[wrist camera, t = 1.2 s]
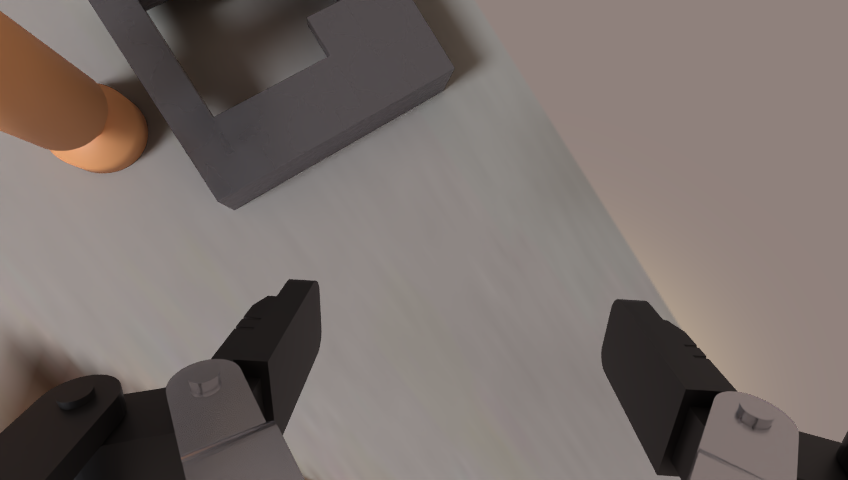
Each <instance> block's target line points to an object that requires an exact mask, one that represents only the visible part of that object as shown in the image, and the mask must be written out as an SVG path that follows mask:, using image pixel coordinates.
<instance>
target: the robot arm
mask: <svg viewBox="0 0 848 480" xmlns="http://www.w3.org/2000/svg"><path fill="white" fill-rule="evenodd" d="M320 342H321V312H320V293H319V284H318V282H317V281H310V280H293V279H289V280H288V281H287V283H286V284H285V285H284V287H283V288H282V290H281V291H280V292H279V294H278V295H277V296H267V297H265V298H264V299H262V300H260V301H259V302H257V303H256V304H254V305H252V307H251V308H250V309H249V311H248V312H247V313H246V314H245V316H244V319H242V320H241V321H240V322H239V324H238V325H237V326H236V329H234V330H233V331H232V333H231V334H230V335H229V336H228V338H227V339H226V340H225V342H224V343H223V344H222V345H221V347H220V348H219V349H218V351H217V352H216V353H215V354H214V356H213V357H212V358H211V359H210V360H204V361H200V362H197V363H194V364H191V365H189V366H187V367H185V368H183V369H182V370H180V371H179V372H177V373H176V374H175V375H174V376H173V377H172V378H171V379H170V380H169V382H168V384H167V386H166V388H161V389H155V390H148V391H142V392H136V393H129V394H123V391H122V387H121V383H120V382H119V380H118V379H116V378H115V377H112V376H109V375H90V376H84V377H80V378H76V379H73V380H70V381H68V382H65V383H63V384H61V385H58V386H56V387H55V388H53V389H51V390H50V391H48V392H47V393H45V394H44V395H43V396H41V397H40V398H39V399H38V400H37V401H36V402H34V403H33V404H32V405H31V406H30V407H29V408H28V409H27V410H26V411H25V412H23V413H22V414H21V415H20V416H19V417H18V418H17V419H16V420H15V421H14V422H12V423H11V424H10V425H9V426H8V427H7V428H6V429H5V430H4V431H3V432H1V433H0V480H305V479H304V477H303V475H302V473H301V471H300V469H299V467H298V465H297V463H296V461H295V459H294V457H293V455H292V453H291V451H290V449H289V447H288V445H287V443H286V441H285V439H284V437H283V433H284V431H285V429H286V426H287V424H288V422H289V419H290V417H291V415H292V412H293V410H294V408H295V405H296V403H297V401H298V398H299V396H300V394H301V391H302V389H303V387H304V384H305V382H306V380H307V377H308V375H309V373H310V370H311V368H312V366H313V363H314V361H315V359H316V356H317V354H318V351H319V347H320ZM601 359H602V366H603V369H604V372H605V374H606V376H607V378H608V380H609V382H610V384H611V386H612V388H613V390H614V392H615V394H616V396H617V397H618V399H619V401H620V403H621V405H622V407H623V409H624V411H625V413H626V415H627V417H628V419H629V421H630V423H631V425H632V427H633V429H634V431H635V433H636V435H637V437H638V439H639V440H640V442H641V444H642V446H643V448H644V450H645V452H646V454H647V456H648V458H649V460H650V462H651V464H652V466H653V468H654V470H655V472H656V474H657V475H665V476H680V478H681V480H848V432H847V434H846V436H845V437H844V439H843V441H842V443H840V442H836V441H832V440H829V439H825V438H821V437H818V436H814V435H810V434H807V433H803V432H799V431H798V428H797V426H796V424H795V423H794V421H793V420H792V419H791V418H790V417H789V416H788V415H787V414H786V413H784V412H783V411H782V410H780V409H779V408H778V407H776V406H774V405H772V404H771V403H769V402H767V401H765V400H763V399H761V398H758V397H755V396H753V395H750V394H746V393H742V392H737V391H736V389H735V388H734V387H733V386H732V385H731V384H730V383H729V382H728V380H727V379H726V378H725V377H724V376H723V375H722V374H721V373H720V371H719V370H718V369H717V368H716V367H715V366H714V365H713V363H712V362H711V361H710V360H709V359H706V356H705V354H704V353H703V352H702V351H701V350H700V349H699V348H697V346H696V344H695V343H694V342H693V341H692V340H691V338H690V337H689V336H688V335H687V334H686V333H685V332H684V331H683V330H681V329H679V328H678V327H676V326H675V325H673V324H672V323H670V322H669V321H667V320H663V319H662V318H661V317H660V316H659V314H658V313H657V312H656V311H655V310H654V309H653V307H652V306H651V305H650V304H649V303H648V302H647V301H639V300H622V299H617V300H615V301H614V303H613V305H612V308H611V312H610V316H609V320H608V324H607V329H606V333H605V337H604V341H603V346H602V352H601Z"/></svg>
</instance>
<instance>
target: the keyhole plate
mask: <svg viewBox="0 0 848 480" xmlns="http://www.w3.org/2000/svg"><path fill="white" fill-rule="evenodd" d="M166 1H168V0H89V2H90V4H91V5H92V7H93V8H94V10H95V11H96V13H97V14H98V16H99V18H100V19H101V21H102V22H103V24H104V25H105V27H106V28H107V30H108V32H109V33H110V35H111V36H112V38H113V39H114V41H115V42H116V44H117V46H118V47H119V49H120V50H121V52H122V53H123V55H124V56H125V58H126V60H127V61H128V63H129V64H130V66H131V67H132V69H133V70H134V72H135V74H136V75H137V77H138V78H139V80H140V81H141V83H142V84H143V86H144V88H145V89H146V91H147V92H148V94H149V95H150V97H151V98H152V100H153V102H154V103H155V105H156V106H157V108H158V109H159V111H160V112H161V114H162V116H163V117H164V119H165V120H166V122H167V123H168V125H169V126H170V128H171V129H172V131H173V133H174V134H175V136H176V137H177V139H178V140H179V142H180V143H181V145H182V147H183V148H184V150H185V151H186V153H187V154H188V156H189V157H190V159H191V161H192V162H193V164H194V165H195V167H196V168H197V170H198V171H199V173H200V175H201V176H202V178H203V179H204V181H205V182H206V184H207V185H208V187H209V189H210V190H211V192H212V193H213V195H214V196H215V198H216V199H217V201H218V202H220V203H222V204H223V205H225V206H227V207H229V208H231V209H233V210H235V209H237V208H239V207H241V206H242V205H244V204H246V203H248V202H249V201H251V200H253V199H255V198H256V197H258V196H260V195H262V194H263V193H265V192H267V191H269V190H270V189H272V188H274V187H276V186H277V185H279V184H281V183H283V182H284V181H286V180H288V179H290V178H291V177H293V176H295V175H297V174H298V173H300V172H302V171H304V170H305V169H307V168H309V167H311V166H312V165H314V164H316V163H318V162H319V161H321V160H323V159H325V158H326V157H328V156H330V155H332V154H333V153H335V152H337V151H339V150H340V149H342V148H344V147H346V146H347V145H349V144H351V143H353V142H354V141H356V140H358V139H360V138H361V137H363V136H365V135H367V134H368V133H370V132H372V131H374V130H375V129H377V128H379V127H381V126H382V125H384V124H386V123H388V122H389V121H391V120H393V119H395V118H396V117H398V116H400V115H402V114H403V113H405V112H407V111H409V110H410V109H412V108H414V107H416V106H417V105H419V104H421V103H423V102H424V101H426V100H428V99H430V98H431V97H433V96H435V95H437V94H438V93H440V92H442V91H443V90H444V88H445V86H446V84H447V82H448V80H449V78H450V76H451V74H452V73H453V71H454V69H455V68H454V66H453V64H452V63H451V61H450V59H449V58H448V56H447V55H446V53H445V51H444V50H443V48H442V46H441V45H440V43H439V42H438V40H437V38H436V37H435V35H434V34H433V32H432V30H431V29H430V27H429V25H428V24H427V22H426V21H425V19H424V17H423V16H422V14H421V13H420V11H419V9H418V8H417V6H416V4H415V3H414V1H413V0H337V1H338V2H336V3H334V4H333V5H331V6H329V7H327V8H325V9H323V10H321V11H319V12H317V13H315V14H313V15H311V16H309V17H307V21H308V27H309V28H310V30H311V32H312V33H313V35H314V36H315V38H316V40H317V41H318V43H319V44H320V46H321V48H322V49H323V51H324V52H325V54H326V55H327V58H325V59H323V60H321V61H319V62H317V63H315V64H314V65H312V66H310V67H308V68H306V69H304V70H302V71H300V72H298V73H296V74H295V75H293V76H291V77H289V78H287V79H285V80H283V81H281V82H279V83H277V84H276V85H274V86H272V87H270V88H268V89H266V90H264V91H262V92H260V93H259V94H257V95H255V96H253V97H251V98H249V99H247V100H245V101H243V102H241V103H240V104H238V105H236V106H234V107H232V108H230V109H228V110H226V111H224V112H222V113H221V114H219V115H217V116H215V117H214V116H213V115H212V113H211V112H210V110H209V109H208V107H207V105H206V104H205V102H204V101H203V99H202V98H201V96H200V95H199V93H198V91H197V90H196V88H195V87H194V85H193V84H192V82H191V80H190V79H189V77H188V76H187V74H186V73H185V71H184V69H183V68H182V66H181V65H180V63H179V62H178V60H177V59H176V57H175V55H174V54H173V52H172V51H171V49H170V48H169V46H168V44H167V43H166V41H165V40H164V38H163V37H162V35H161V33H160V32H159V30H158V29H157V27H156V26H155V24H154V23H153V21H152V19H151V18H150V16H149V15H148V13H147V12H146V11H147V10H149V9H151V8H153V7H155V6H157V5H160V4H162V3H164V2H166Z"/></svg>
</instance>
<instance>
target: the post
mask: <svg viewBox="0 0 848 480" xmlns="http://www.w3.org/2000/svg"><path fill="white" fill-rule="evenodd" d="M0 131H3V132H5V133H8V134H10V135H13V136H15V137H18V138H20V139H23V140H25V141H28V142H30V143H33V144H35V145H38V146H40V147H43V148H45V149H49V150H50V151H51V152H52V153H53V154H54V155H55V156H56V157H58V158H59V159H61V160H62V161H64V162H66V163H68V164H71V165H74V166H76V167H79V168H82V169H84V170H87V171H90V172H95V173H112V172H116V171H119V170H122V169H124V168H126V167H128V166H130V165H131V164H133V163H134V162H135V161H136V160H137V159H138V158H139V157H140V156H141V154H142V153H143V151H144V149H145V147H146V144H147V139H148V127H147V123H146V120H145V118H144V116H143V114H142V112H141V111H140V110H139V108H138V107H137V106H136V105H135V104H133V103H132V102H131V101H130V100H128V99H127V98H126V97H124V96H123V95H122V94H120V93H119V92H118V91H116V90H114V89H113V88H111V87H108V86H106V85H102V84H98V83H96V82H95V81H94V80H93V79H91V78H90V77H89V76H87V75H86V74H85V73H83V72H82V71H81V70H79V69H78V68H77V67H75V66H74V65H73V64H71V63H70V62H69V61H67V60H66V59H64V58H63V57H62V56H60V55H59V54H58V53H56V52H55V51H54V50H52V49H51V48H50V47H48V46H47V45H46V44H44V43H43V42H42V41H40V40H39V39H37V38H36V37H35V36H33V35H32V34H31V33H29V32H28V31H27V30H25V29H24V28H23V27H21V26H20V25H19V24H17V23H16V22H15V21H13V20H12V19H10V18H9V17H8V16H6V15H5V14H4V13H2V12H1V11H0Z"/></svg>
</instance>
